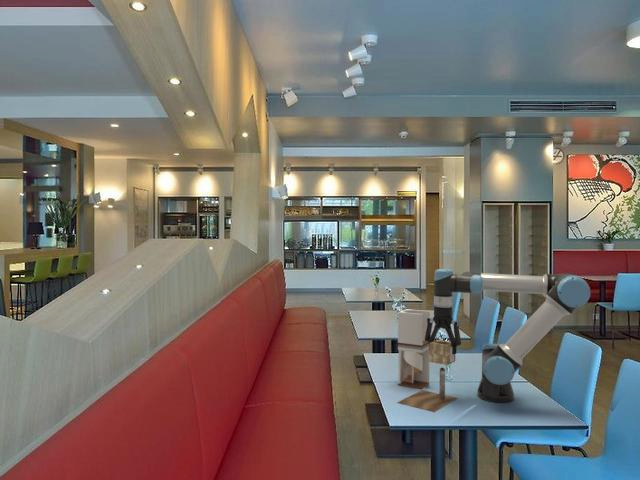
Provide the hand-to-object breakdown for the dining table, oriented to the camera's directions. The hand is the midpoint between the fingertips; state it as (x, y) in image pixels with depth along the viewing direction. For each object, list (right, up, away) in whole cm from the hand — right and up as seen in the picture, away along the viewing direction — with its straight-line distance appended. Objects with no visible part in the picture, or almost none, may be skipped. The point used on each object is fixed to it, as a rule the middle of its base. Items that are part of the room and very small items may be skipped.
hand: (442, 359), depth 218 cm
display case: (-9, -18, +20) cm, 28 cm away
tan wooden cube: (0, -1, 0) cm, 1 cm away
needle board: (-7, -18, -2) cm, 19 cm away
